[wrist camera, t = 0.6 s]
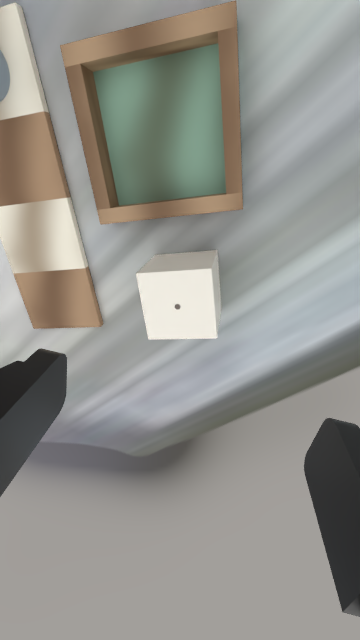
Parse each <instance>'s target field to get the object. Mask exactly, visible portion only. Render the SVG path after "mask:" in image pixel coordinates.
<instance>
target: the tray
mask: <svg viewBox="0 0 360 640" xmlns="http://www.w3.org/2000/svg"><path fill="white" fill-rule="evenodd" d="M60 48H61V52H62V57H63V61H64V65H65V70H66V74H67V79H68V83H69V88H70V92H71V96H72V101H73V105H74V110H75V114H76V119H77V123H78V127H79V132H80V136H81V141H82V145H83V150H84V154H85V158H86V163H87V167H88V172H89V176H90V181H91V185H92V189H93V194H94V198H95V203H96V207H97V211H98V216H99V220H100V224H110V223H119V222H128V221H138V220H147V219H156V218H166V217H175V216H184V215H194V214H203V213H212V212H221V211H231V210H240V209H243V197H242V165H241V133H240V101H239V69H238V38H237V7H236V1H232V2H228V3H224V4H220V5H216V6H212V7H208V8H204V9H200V10H197V11H193V12H189V13H185V14H181V15H177V16H173V17H169V18H165V19H161V20H158V21H154V22H150V23H146V24H142V25H138V26H134V27H130V28H126V29H122V30H118V31H115V32H111V33H107V34H103V35H99V36H95V37H91V38H87V39H83V40H79V41H76V42H72V43H68V44H64V45H60Z"/></svg>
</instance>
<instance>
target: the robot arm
mask: <svg viewBox="0 0 360 640" xmlns="http://www.w3.org/2000/svg"><path fill="white" fill-rule="evenodd" d="M66 380H67V357H66V355H65V354H62V353H58V352H53V351H49V350H45V349H38V350H37V351H36V352H35V353H33V354H32V355H31V356H30V357H29V358H28V359H27V360H26V361H25V362H22V361H16V362H13V363H11V364H9V365H7V366H5V367H2V368H0V496H1V495H2V494H3V492H4V491H5V489H6V488H7V486H8V485H9V484H10V482H11V481H12V479H13V478H14V477H15V475H16V474H17V472H18V471H19V470H20V468H21V467H22V465H23V464H24V462H25V461H26V460H27V458H28V457H29V455H30V454H31V452H32V451H33V450H34V448H35V447H36V445H37V444H38V443H39V441H40V440H41V438H42V437H43V435H44V434H45V433H46V431H47V430H48V428H49V427H50V426H51V424H52V423H53V421H54V420H55V418H56V417H57V416H58V414H59V413H60V411H61V409H62V407H63V404H64V401H65V397H66ZM304 471H305V476H306V480H307V484H308V487H309V491H310V495H311V498H312V501H313V506H314V509H315V513H316V516H317V520H318V524H319V528H320V531H321V535H322V538H323V542H324V545H325V549H326V553H327V557H328V560H329V564H330V568H331V571H332V575H333V579H334V582H335V586H336V590H337V593H338V597H339V601H340V604H341V608H342V611H343V612H344V613H347V614H351V615H355V616H359V617H360V428H359V427H358V426H357V425H355V424H352V423H348V422H344V421H339V420H336V419H331V418H327V419H326V420H325V421H324V422H323V424H322V425H321V427H320V429H319V431H318V433H317V435H316V437H315V438H314V440H313V442H312V444H311V446H310V448H309V450H308V451H307V454H306V457H305V464H304Z"/></svg>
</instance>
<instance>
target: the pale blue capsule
mask: <svg viewBox="0 0 360 640" xmlns="http://www.w3.org/2000/svg"><path fill="white" fill-rule="evenodd" d="M9 86H10V73H9V68H8V64H7V61H6V59H5V57H4V55H3V53H2V52H1V50H0V102H1V101H2V100H3V99H4V98H5V97H6V95H7V93H8V90H9Z"/></svg>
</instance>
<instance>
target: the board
mask: <svg viewBox="0 0 360 640" xmlns="http://www.w3.org/2000/svg"><path fill="white" fill-rule="evenodd" d="M0 50H1V52H2V53H3V55H4V57H5V59H6V61H7V64H8V68H9V73H10V86H9V90H8V93H7V95H6V97H5V98H4V99H3V100H2V101H1V102H0V239H1V241H2V244H3V247H4V249H5V252H6V255H7V258H8V260H9V263H10V266H11V268H12V271H13V274H14V277H15V279H16V282H17V285H18V287H19V290H20V293H21V296H22V298H23V301H24V304H25V306H26V309H27V312H28V314H29V317H30V320H31V323H32V325H33V328H34V329H39V328H76V327H101V326H102V325H103V321H102V317H101V313H100V309H99V306H98V302H97V298H96V294H95V290H94V286H93V282H92V278H91V274H90V271H89V267H88V263H87V259H86V255H85V251H84V247H83V243H82V239H81V236H80V232H79V228H78V224H77V220H76V216H75V212H74V208H73V204H72V200H71V197H70V193H69V189H68V185H67V181H66V177H65V173H64V169H63V165H62V162H61V158H60V154H59V150H58V146H57V142H56V138H55V134H54V130H53V127H52V123H51V119H50V115H49V111H48V107H47V103H46V99H45V95H44V92H43V88H42V84H41V80H40V76H39V72H38V68H37V64H36V60H35V56H34V53H33V49H32V45H31V41H30V37H29V33H28V29H27V25H26V21H25V18H24V14H23V10H22V7H21V6H19V5H18V4H17V3H12V4H9V5H6V6H2V7H0Z"/></svg>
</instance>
